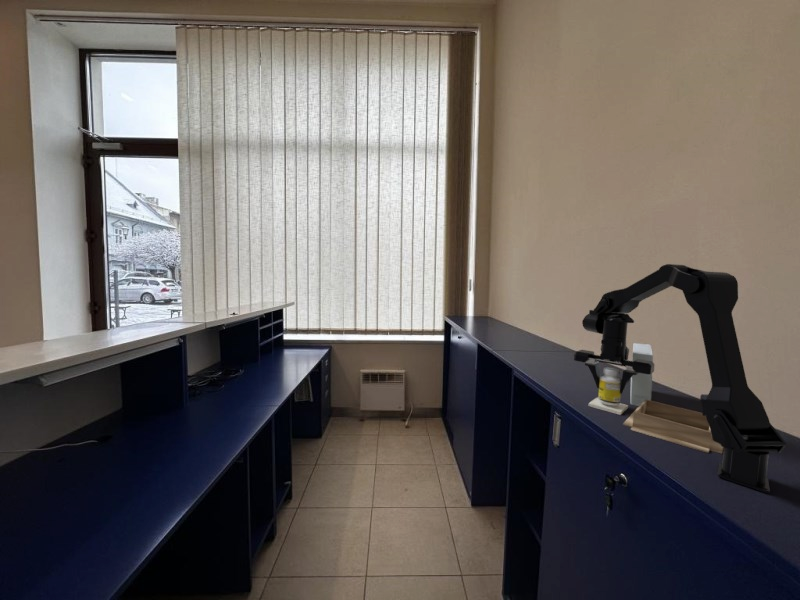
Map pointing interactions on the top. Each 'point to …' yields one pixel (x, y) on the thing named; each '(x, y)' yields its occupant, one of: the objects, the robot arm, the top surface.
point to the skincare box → (641, 376)
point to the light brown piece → (673, 425)
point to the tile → (608, 406)
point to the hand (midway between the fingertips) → (609, 390)
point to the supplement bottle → (610, 386)
